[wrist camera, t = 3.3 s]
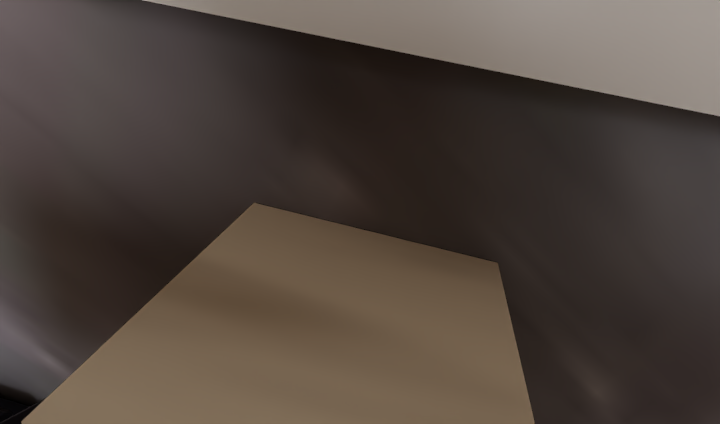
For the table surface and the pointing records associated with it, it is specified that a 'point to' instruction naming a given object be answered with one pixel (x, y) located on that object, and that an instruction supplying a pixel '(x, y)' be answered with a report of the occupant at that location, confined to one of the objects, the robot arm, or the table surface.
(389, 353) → the maple block
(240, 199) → the table surface
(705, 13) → the tray
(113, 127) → the table surface
